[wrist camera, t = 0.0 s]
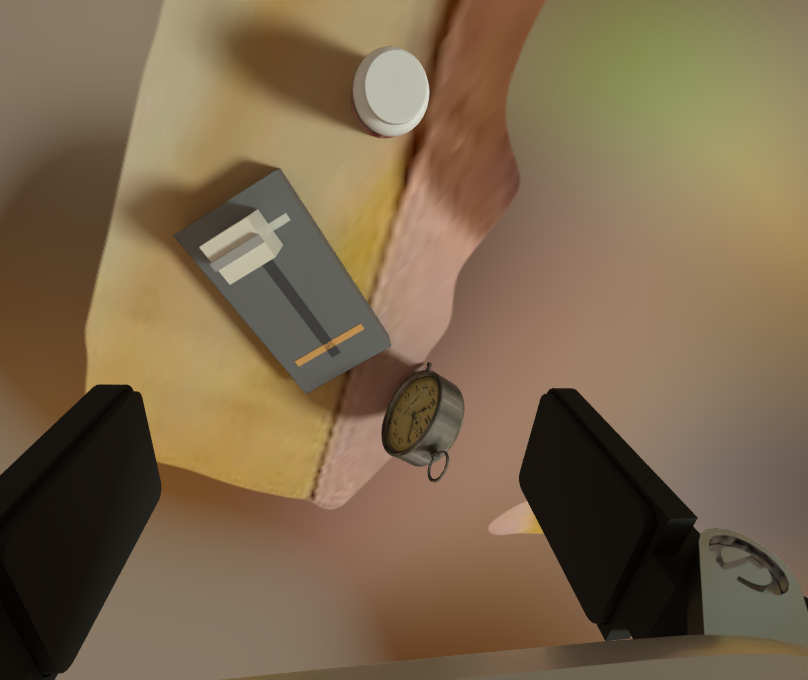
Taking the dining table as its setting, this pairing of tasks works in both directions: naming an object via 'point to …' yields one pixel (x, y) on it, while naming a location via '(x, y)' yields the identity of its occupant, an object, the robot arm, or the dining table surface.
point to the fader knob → (242, 247)
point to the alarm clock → (423, 420)
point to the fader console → (293, 287)
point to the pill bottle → (389, 92)
